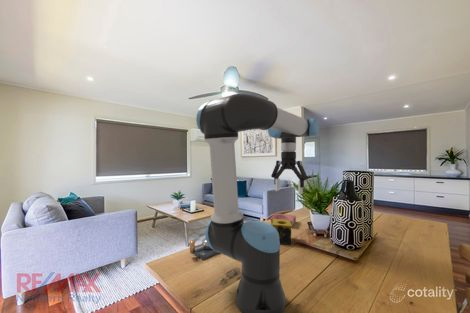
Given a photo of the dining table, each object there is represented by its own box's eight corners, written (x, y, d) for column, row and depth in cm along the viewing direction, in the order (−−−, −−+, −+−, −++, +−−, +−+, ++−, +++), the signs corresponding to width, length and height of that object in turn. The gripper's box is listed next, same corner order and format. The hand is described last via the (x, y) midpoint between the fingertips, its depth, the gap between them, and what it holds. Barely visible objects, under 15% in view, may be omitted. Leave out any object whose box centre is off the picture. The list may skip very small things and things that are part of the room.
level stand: (202, 259, 90) (202, 239, 90) (190, 252, 97) (190, 233, 97) (240, 243, 106) (240, 226, 106) (228, 238, 113) (228, 222, 113)
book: (295, 222, 142) (295, 215, 143) (292, 229, 129) (292, 221, 129) (275, 219, 148) (275, 212, 148) (269, 226, 134) (269, 218, 135)
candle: (272, 236, 117) (272, 218, 117) (290, 237, 115) (290, 219, 115) (271, 243, 107) (271, 224, 107) (291, 245, 105) (291, 225, 105)
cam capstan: (193, 255, 89) (193, 244, 89) (186, 250, 93) (186, 240, 93) (219, 245, 99) (219, 235, 99) (212, 241, 103) (212, 232, 103)
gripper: (315, 151, 100) (315, 194, 99) (273, 152, 118) (273, 188, 118) (307, 150, 95) (307, 196, 94) (265, 151, 113) (264, 190, 113)
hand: (288, 192), depth 106 cm, fingers open, 13 cm apart
